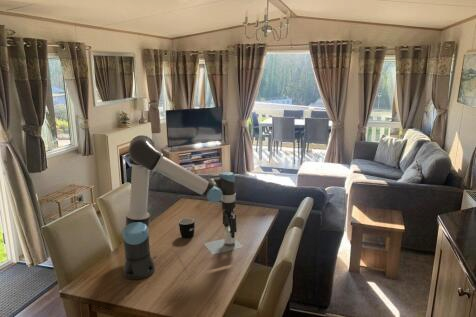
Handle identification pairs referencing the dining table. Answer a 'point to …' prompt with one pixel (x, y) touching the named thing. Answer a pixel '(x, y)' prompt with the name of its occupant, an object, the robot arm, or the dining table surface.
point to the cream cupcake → (227, 235)
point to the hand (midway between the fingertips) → (229, 239)
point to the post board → (221, 246)
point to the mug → (187, 227)
